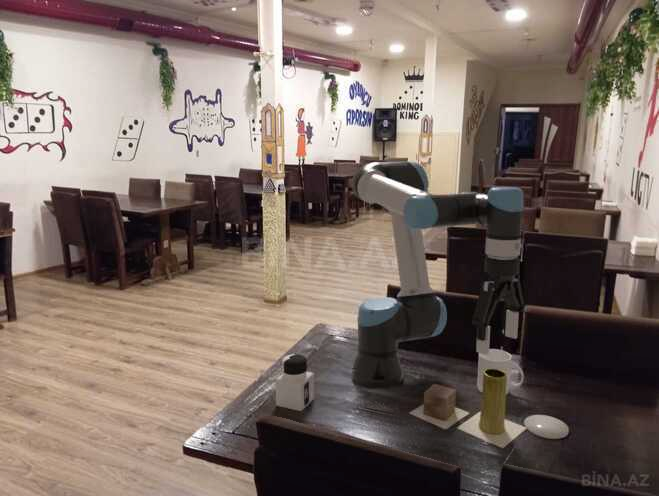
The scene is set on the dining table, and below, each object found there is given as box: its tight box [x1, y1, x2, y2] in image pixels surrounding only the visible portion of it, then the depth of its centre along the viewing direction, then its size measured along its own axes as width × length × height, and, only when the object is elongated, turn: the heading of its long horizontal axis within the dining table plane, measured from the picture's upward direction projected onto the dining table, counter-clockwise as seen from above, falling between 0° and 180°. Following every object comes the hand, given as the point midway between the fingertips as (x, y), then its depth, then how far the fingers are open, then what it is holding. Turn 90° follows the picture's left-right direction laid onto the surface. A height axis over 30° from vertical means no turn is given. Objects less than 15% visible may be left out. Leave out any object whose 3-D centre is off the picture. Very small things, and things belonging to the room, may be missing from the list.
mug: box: [476, 348, 525, 396], centre depth 142 cm, size 9×12×11 cm
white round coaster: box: [523, 414, 570, 440], centre depth 125 cm, size 10×10×1 cm
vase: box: [479, 368, 507, 434], centre depth 123 cm, size 6×6×14 cm
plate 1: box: [409, 403, 470, 430], centre depth 132 cm, size 11×11×1 cm
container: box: [275, 353, 315, 412], centre depth 137 cm, size 8×8×13 cm
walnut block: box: [423, 383, 457, 421], centre depth 131 cm, size 6×6×6 cm
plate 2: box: [456, 410, 527, 449], centre depth 125 cm, size 12×12×1 cm
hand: (497, 344), depth 120 cm, fingers open, 13 cm apart
